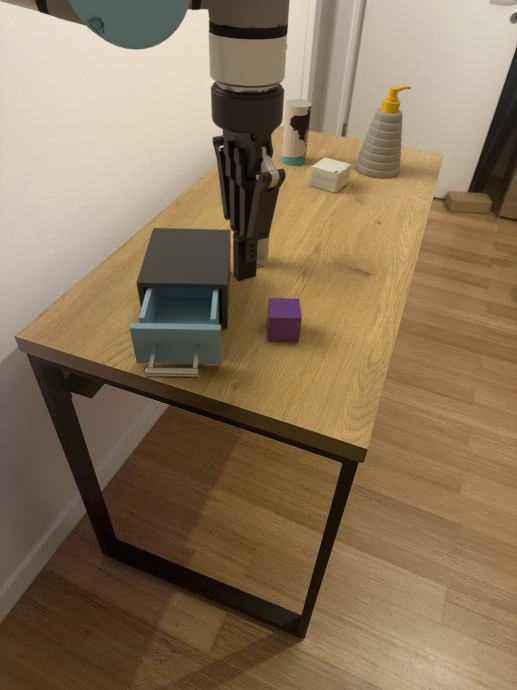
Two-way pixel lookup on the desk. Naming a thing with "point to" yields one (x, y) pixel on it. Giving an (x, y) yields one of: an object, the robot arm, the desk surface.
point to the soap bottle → (383, 140)
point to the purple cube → (284, 319)
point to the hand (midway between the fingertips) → (244, 276)
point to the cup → (296, 131)
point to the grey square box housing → (188, 262)
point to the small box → (330, 174)
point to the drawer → (178, 330)
